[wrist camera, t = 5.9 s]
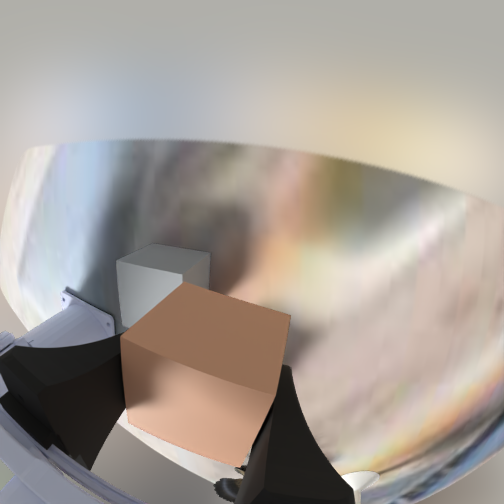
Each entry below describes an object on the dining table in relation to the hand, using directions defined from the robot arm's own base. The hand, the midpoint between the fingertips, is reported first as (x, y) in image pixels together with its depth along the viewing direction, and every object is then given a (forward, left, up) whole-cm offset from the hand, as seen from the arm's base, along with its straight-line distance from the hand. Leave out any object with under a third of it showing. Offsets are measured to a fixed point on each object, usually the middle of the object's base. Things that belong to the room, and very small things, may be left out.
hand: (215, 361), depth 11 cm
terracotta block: (0, 0, -2) cm, 2 cm away
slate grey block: (-1, +6, -10) cm, 11 cm away
